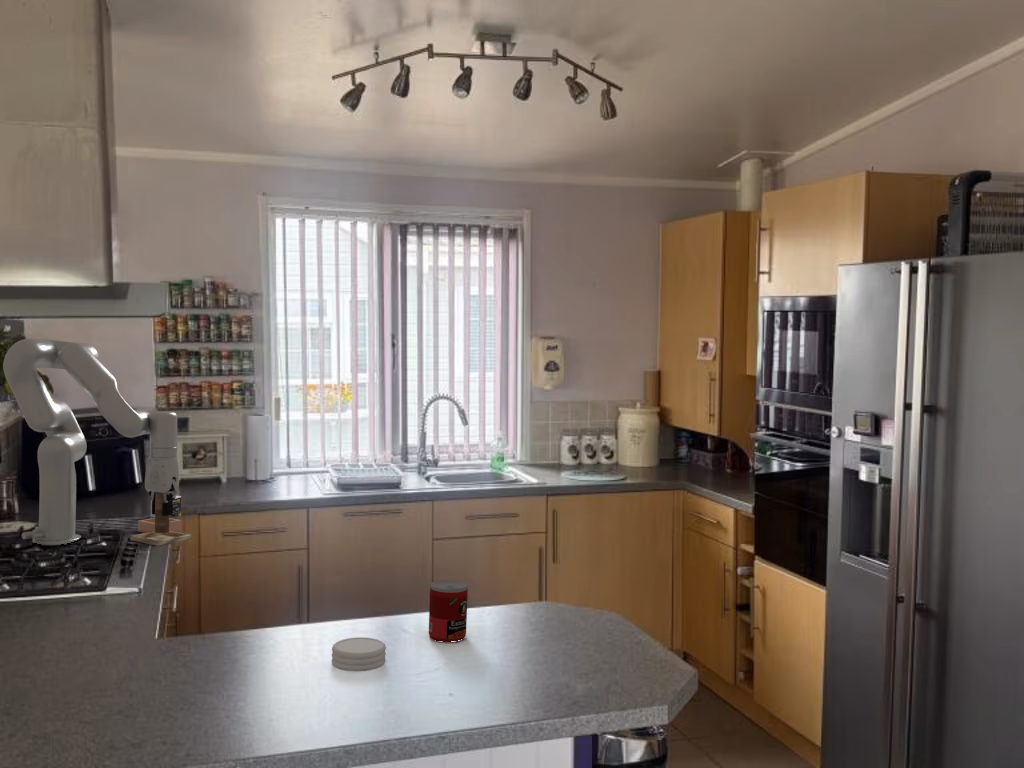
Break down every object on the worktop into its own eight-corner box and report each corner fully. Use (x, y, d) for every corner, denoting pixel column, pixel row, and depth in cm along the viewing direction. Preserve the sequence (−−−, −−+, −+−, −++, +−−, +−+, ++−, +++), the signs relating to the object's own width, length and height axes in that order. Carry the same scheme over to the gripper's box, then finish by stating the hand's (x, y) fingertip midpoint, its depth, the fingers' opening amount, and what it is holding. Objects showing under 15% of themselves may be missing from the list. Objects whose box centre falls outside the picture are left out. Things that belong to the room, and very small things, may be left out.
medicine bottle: (169, 520, 295) (169, 484, 295) (150, 518, 297) (150, 483, 296) (181, 516, 302) (182, 481, 302) (162, 515, 304) (163, 480, 303)
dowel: (160, 533, 259) (161, 486, 258) (151, 531, 261) (152, 484, 260) (172, 531, 262) (173, 484, 262) (163, 529, 264) (164, 483, 264)
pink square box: (156, 537, 268) (157, 524, 268) (137, 533, 272) (137, 520, 272) (181, 532, 276) (181, 520, 275) (162, 529, 280) (162, 516, 280)
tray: (157, 548, 253) (157, 541, 253) (130, 542, 259) (130, 535, 259) (191, 541, 264) (191, 534, 264) (164, 536, 270) (164, 529, 270)
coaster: (327, 672, 160) (328, 653, 160) (335, 653, 170) (336, 635, 170) (382, 673, 160) (383, 654, 160) (387, 654, 170) (388, 636, 170)
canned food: (452, 646, 176) (453, 591, 176) (420, 638, 180) (422, 585, 180) (473, 636, 183) (475, 583, 182) (442, 629, 187) (444, 577, 187)
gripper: (133, 452, 262) (132, 513, 262) (171, 456, 253) (170, 519, 254) (155, 450, 268) (154, 509, 269) (192, 454, 260) (191, 516, 260)
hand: (162, 514), depth 261 cm, fingers closed on dowel, 4 cm apart
